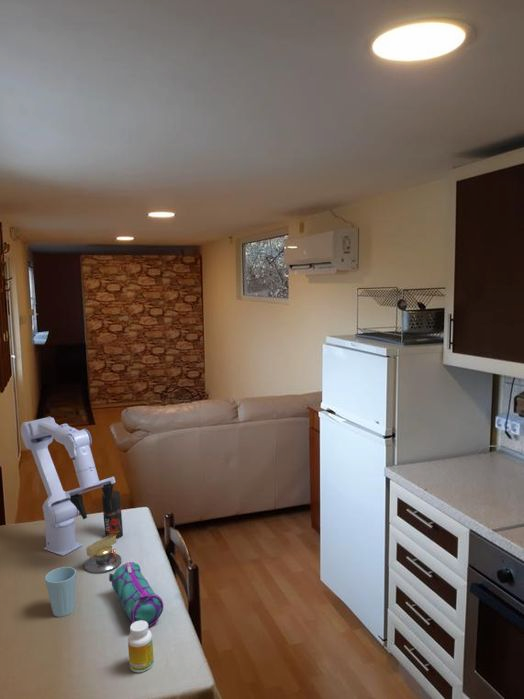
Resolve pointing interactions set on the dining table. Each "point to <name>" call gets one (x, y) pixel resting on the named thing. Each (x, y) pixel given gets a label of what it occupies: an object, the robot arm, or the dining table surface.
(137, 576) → the pencil case
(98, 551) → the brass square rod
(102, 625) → the dining table surface
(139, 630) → the supplement bottle
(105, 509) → the deodorant
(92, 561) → the post base
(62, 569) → the cup
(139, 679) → the dining table surface
